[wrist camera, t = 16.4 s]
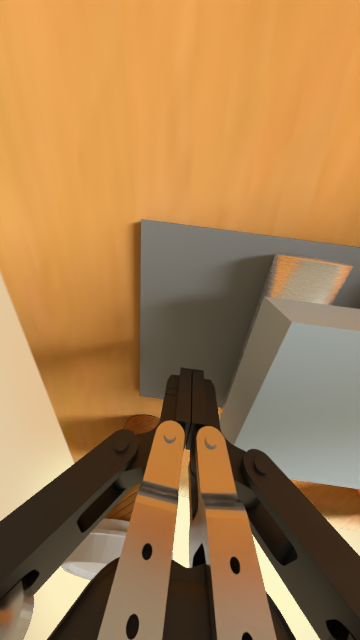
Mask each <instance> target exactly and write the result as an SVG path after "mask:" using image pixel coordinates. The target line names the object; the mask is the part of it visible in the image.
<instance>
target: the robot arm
mask: <svg viewBox="0 0 360 640" xmlns="http://www.w3.org/2000/svg"><path fill="white" fill-rule="evenodd" d="M185 444H186V449H188V450H190V461H189V466H188V472H189V501H190V530H189V562H190V563H189V564H190V568H185V567H183V566H182V565H180V564H178V563H177V562H175V561H174V560H172V550H173V541H174V532H175V524H176V515H177V506H178V490H179V481H180V473H181V464H182V456H183V450H184V448H185ZM139 484H141V486H140V488H139V491H138V494H137V497H136V501H135V504H134V508H133V512H132V515H131V519H130V522H129V526H128V530H127V533H126V537H125V541H124V544H123V548H122V552H121V555H120V557H118V558H116V559H114V560H113V561H111V562H110V563H108V564H107V565H106V566H105V567H104V568H102V569H101V570H100V571H99V572H98V573H97V574H96V576H95V577H94V578H93V579H92V580H91V581H90V583H89V584H88V585H87V586H86V588H85V589H84V590H83V592H82V593H81V594H80V596H79V597H78V598H77V600H76V601H75V602H74V604H73V605H72V606H71V608H70V609H69V611H68V612H67V613H66V615H65V616H64V617H63V619H62V620H61V621H60V623H59V624H58V625H57V627H56V628H55V630H54V631H53V632H52V634H51V635H50V636H49V638H48V639H47V640H296V639H295V637H294V635H293V633H292V632H291V630H290V628H289V627H288V624H287V623H286V621H285V619H284V618H283V616H282V614H281V612H280V611H279V609H278V608H277V606H276V605H275V603H274V602H273V600H272V599H271V597H270V596H269V595H268V594H267V592H266V591H265V587H264V583H263V579H262V575H261V570H260V566H259V562H258V558H257V554H256V549H255V545H254V541H253V536H254V537H255V539H256V540H257V542H258V543H259V545H260V546H261V548H262V550H263V551H264V553H265V554H266V556H267V557H268V559H269V560H270V562H271V563H272V565H273V566H274V568H275V570H276V571H277V573H278V574H279V576H280V577H281V579H282V581H283V582H284V584H285V585H286V587H287V588H288V590H289V591H290V593H291V595H292V596H293V598H294V599H295V601H296V602H297V604H298V605H299V607H300V609H301V610H302V612H303V613H304V615H305V616H306V618H307V619H308V621H309V623H310V624H311V626H312V627H313V629H314V630H315V632H316V633H317V635H318V637H319V638H320V640H360V556H359V555H358V554H357V553H356V552H355V551H354V550H353V548H352V547H351V546H350V545H349V544H348V543H347V542H346V541H345V540H344V539H343V538H342V537H341V535H340V534H339V533H338V532H337V531H336V530H335V529H334V528H333V526H332V525H331V524H330V523H329V522H328V521H327V520H326V519H325V518H324V517H323V516H322V514H321V513H320V512H319V511H318V510H317V509H316V508H315V507H314V506H313V505H312V503H311V502H310V501H309V500H308V499H307V498H306V497H305V496H304V495H303V494H302V492H301V491H300V490H299V489H298V488H297V487H296V486H295V485H294V484H293V483H292V482H291V480H290V479H289V478H288V477H287V476H286V475H285V474H284V473H283V472H282V471H281V469H280V468H279V467H278V466H277V465H276V464H275V463H274V462H273V461H272V460H271V459H270V457H269V456H268V455H267V454H265V453H264V452H262V451H260V450H258V449H250V450H248V451H247V452H246V451H244V450H242V449H240V448H238V447H236V446H234V445H233V444H231V443H230V442H229V441H228V440H227V439H226V438H225V437H224V435H223V434H222V432H221V429H220V423H219V415H218V407H217V400H216V392H215V386H214V384H213V383H212V381H211V380H209V379H204V371H203V370H197V369H190V368H183V367H181V368H180V375H173V374H172V375H171V376H170V377H169V379H168V380H167V385H166V390H165V396H164V401H163V407H162V412H161V417H160V421H159V423H158V425H157V426H156V427H155V428H154V429H152V430H151V431H149V432H146V433H141V434H135V433H134V432H133V431H131V430H128V429H122V430H118V431H116V432H115V433H113V434H112V435H111V436H109V437H108V438H107V439H106V440H104V441H103V442H102V443H100V444H99V445H98V446H97V447H95V448H94V449H93V450H91V451H90V452H89V453H88V454H86V455H85V456H84V457H82V458H81V459H80V460H79V461H77V462H76V463H75V464H73V465H72V466H71V467H70V468H68V469H67V470H66V471H65V472H63V473H62V474H61V475H59V476H58V477H57V478H55V479H54V480H53V481H52V482H50V483H49V484H48V485H46V486H45V487H44V488H43V489H41V490H40V491H39V492H37V493H36V494H35V495H34V496H32V497H31V498H30V499H29V500H27V501H26V502H25V503H24V504H22V505H21V506H19V507H18V508H17V509H16V510H14V511H13V512H12V513H11V514H9V515H8V516H7V517H6V518H4V519H3V520H1V521H0V640H23V639H24V637H25V634H26V632H27V630H28V627H29V624H30V621H31V617H32V613H33V607H34V596H33V595H34V594H35V593H36V592H37V591H38V590H39V589H40V587H41V586H42V585H43V584H44V583H45V582H46V581H47V580H48V579H49V578H50V577H51V575H52V574H53V573H54V572H55V571H56V570H57V569H58V568H59V567H60V566H61V565H62V563H63V562H64V561H65V560H66V559H67V558H68V557H69V556H70V555H71V554H72V552H73V551H74V550H75V549H76V548H77V547H78V546H79V545H80V544H81V543H82V542H83V540H84V539H85V538H86V537H87V536H88V535H89V534H90V533H91V532H92V531H93V529H94V528H95V527H96V526H97V525H98V524H99V523H100V522H101V521H102V520H103V519H104V517H105V516H106V515H107V514H108V513H109V512H110V511H111V510H112V509H113V508H114V506H115V505H116V504H117V503H118V502H119V501H120V500H121V499H122V498H123V497H124V496H125V494H126V493H127V492H128V491H129V490H130V489H131V488H132V487H133V486H135V485H139ZM252 534H253V536H252Z"/></svg>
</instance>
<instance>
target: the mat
mask: <svg viewBox="0 0 360 640" xmlns="http://www.w3.org/2000/svg"><path fill="white" fill-rule="evenodd" d="M276 253H278V254H289V255H297V256H304V257H311V258H317V259H323V260H328V261H334V262H339V263H344V264H348V265H352V266H353V268H352V270H351V272H350V273H349V275H348V277H347V279H346V280H345V282H344V284H343V286H342V287H341V289H340V291H339V293H338V295H337V296H336V298H335V300H334V302H333V303H332V305H333V306H340V307H348V308H355V309H360V247H353V246H345V245H337V244H329V243H322V242H314V241H306V240H298V239H291V238H283V237H275V236H268V235H260V234H252V233H244V232H237V231H229V230H221V229H213V228H206V227H198V226H190V225H183V224H175V223H167V222H159V221H152V220H144V219H141V283H140V396H145V397H152V398H159V399H164V396H165V390H166V385H167V380H168V379H169V377H170V376H171V375H172V374H173V375H180V368H181V367H183V368H190V369H197V370H203V371H204V379H209V380H211V381H212V383H213V384H214V386H215V392H216V400H217V407H222V405H223V402H224V399H225V397H226V394H227V391H228V388H229V385H230V382H231V379H232V377H233V374H234V371H235V368H236V365H237V362H238V359H239V357H240V354H241V351H242V348H243V345H244V342H245V339H246V336H247V334H248V331H249V328H250V325H251V322H252V319H253V316H254V314H255V311H256V308H257V305H258V302H259V299H260V296H261V293H262V291H263V288H264V285H265V282H266V279H267V276H268V273H269V271H270V268H271V265H272V262H273V259H274V256H275V254H276Z"/></svg>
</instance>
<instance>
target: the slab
mask: <svg viewBox="0 0 360 640" xmlns="http://www.w3.org/2000/svg"><path fill="white" fill-rule="evenodd" d="M219 423H220V429H221V432H222V434H223V435H224V437H225V438H226V439H227V440H228V441H229V442H230V443H231V444H233V445H234V446H236V447H238V448H240V449H242V450H244V451H246V452H247V451H248V450H250V449H258V450H260V451H262V452H264V453H265V454H267V455H268V456H269V457H270V459H271V460H272V461H273V462H274V463H275V464H276V465H277V466H278V467H279V468H280V469H281V471H282V472H283V473H284V474H285V475H286V476H287V477H288V478H289V479H292V480H299V481H306V482H313V483H319V484H326V485H333V486H340V487H347V488H354V489H360V309H355V308H348V307H340V306H333V305H325V304H318V303H310V302H303V301H295V300H288V299H280V298H273V297H265V296H264V298H263V301H262V304H261V307H260V310H259V312H258V315H257V318H256V321H255V323H254V326H253V329H252V332H251V335H250V337H249V340H248V343H247V346H246V348H245V351H244V354H243V357H242V360H241V362H240V365H239V368H238V371H237V373H236V376H235V379H234V382H233V385H232V387H231V390H230V393H229V396H228V399H227V401H226V404H225V407H224V410H223V412H222V415H221V418H220V421H219Z"/></svg>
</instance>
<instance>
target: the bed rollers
mask: <svg viewBox="0 0 360 640" xmlns="http://www.w3.org/2000/svg"><path fill="white" fill-rule="evenodd" d="M352 268H353V266H352V265H348V264H344V263H339V262H334V261H328V260H323V259H317V258H311V257H304V256H297V255H289V254H278V253H276V254H275V256H274V259H273V262H272V265H271V268H270V271H269V273H268V276H267V279H266V282H265V285H264V288H263V291H262V293H261V296H260V299H259V302H258V305H257V308H256V311H255V314H254V316H253V319H252V322H251V325H250V328H249V331H248V334H247V336H246V339H245V342H244V345H243V348H242V351H241V354H240V357H239V359H238V362H237V365H236V368H235V371H234V374H233V377H232V379H231V382H230V385H229V388H228V391H227V394H226V397H225V399H224V402H223V405H222V408H221V411H220V418H221V415H222V412H223V410H224V407H225V404H226V401H227V399H228V396H229V393H230V390H231V387H232V385H233V382H234V379H235V376H236V373H237V371H238V368H239V365H240V362H241V360H242V357H243V354H244V351H245V348H246V346H247V343H248V340H249V337H250V335H251V332H252V329H253V326H254V323H255V321H256V318H257V315H258V312H259V310H260V307H261V304H262V301H263V298H264V296H265V297H273V298H280V299H288V300H295V301H303V302H310V303H318V304H325V305H332V303H333V302H334V300H335V298H336V296H337V295H338V293H339V291H340V289H341V287H342V286H343V284H344V282H345V280H346V279H347V277H348V275H349V273H350V272H351V270H352Z"/></svg>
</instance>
